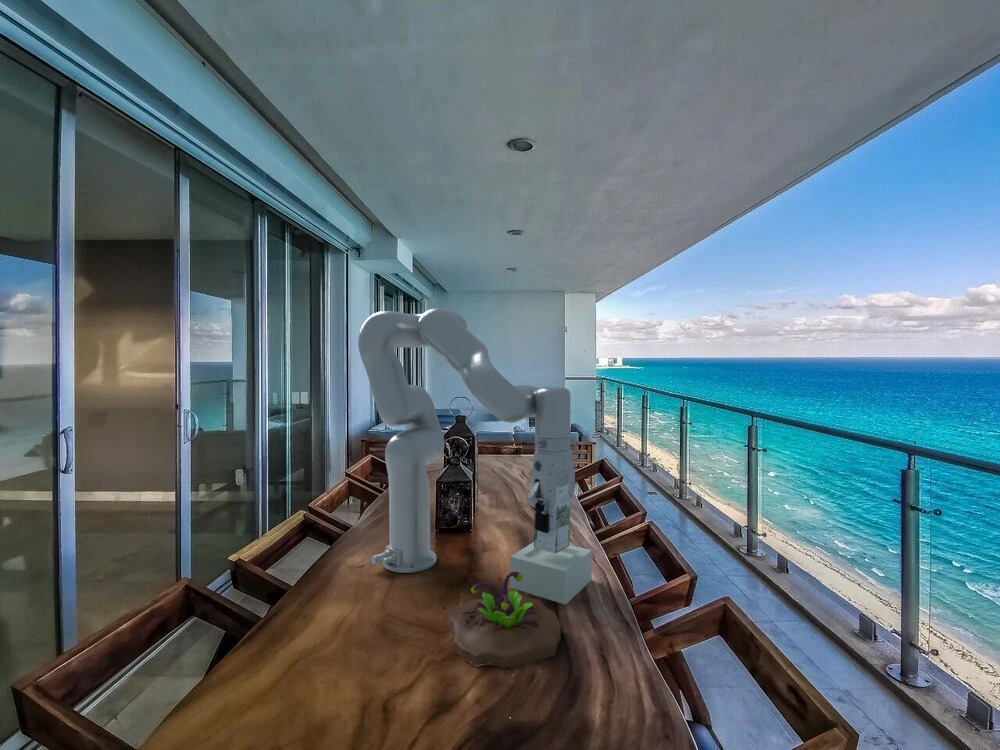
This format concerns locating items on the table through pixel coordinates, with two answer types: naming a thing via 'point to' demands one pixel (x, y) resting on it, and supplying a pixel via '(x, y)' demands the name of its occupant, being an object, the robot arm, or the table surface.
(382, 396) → the robot arm
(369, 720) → the table surface
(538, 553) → the sage block
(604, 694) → the table surface
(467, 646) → the plant
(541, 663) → the table surface
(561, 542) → the syrup box
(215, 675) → the table surface
